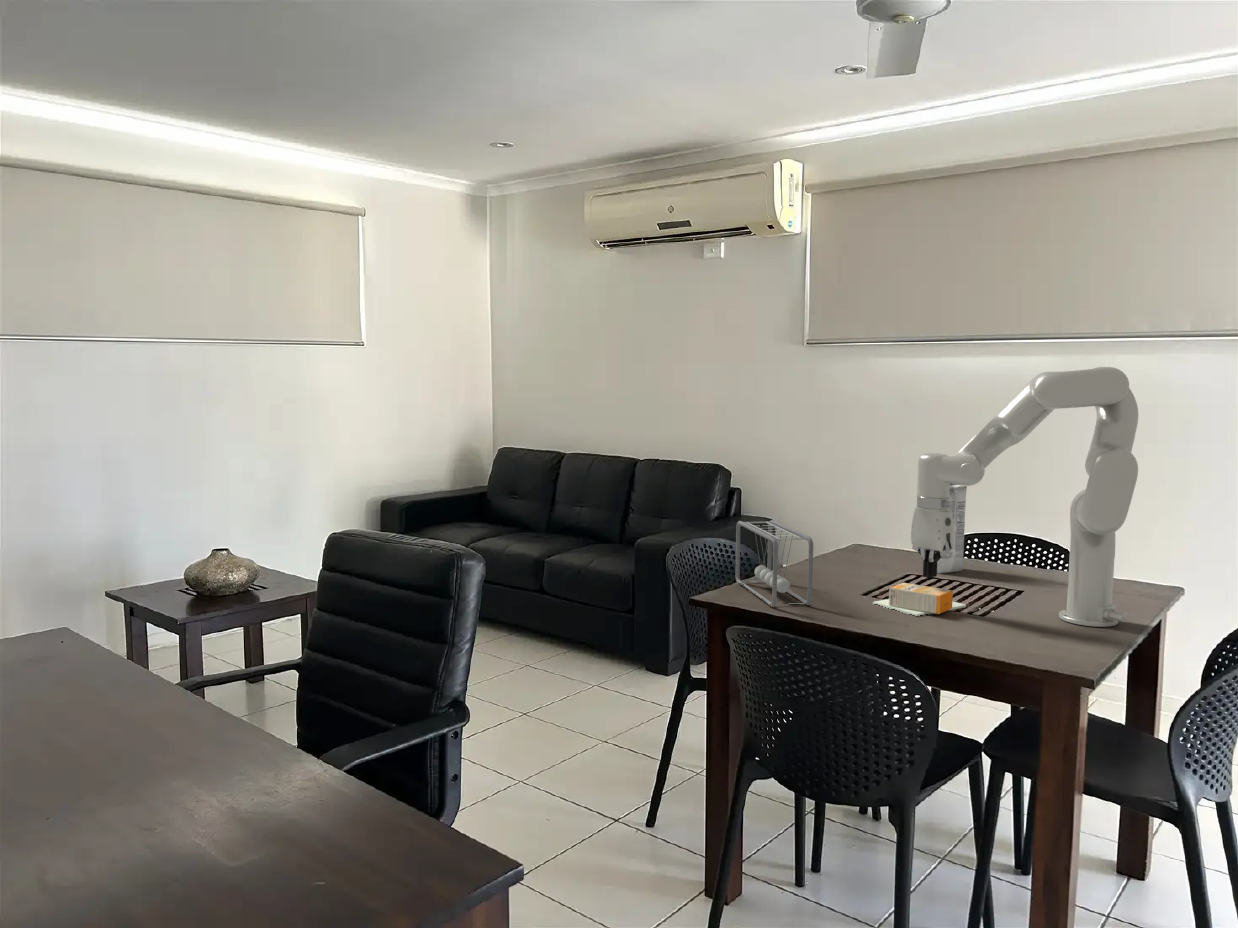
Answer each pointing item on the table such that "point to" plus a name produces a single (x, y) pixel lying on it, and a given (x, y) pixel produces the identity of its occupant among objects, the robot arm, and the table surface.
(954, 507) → the juice carton
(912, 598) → the supplement box
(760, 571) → the newton's cradle
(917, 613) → the mat
